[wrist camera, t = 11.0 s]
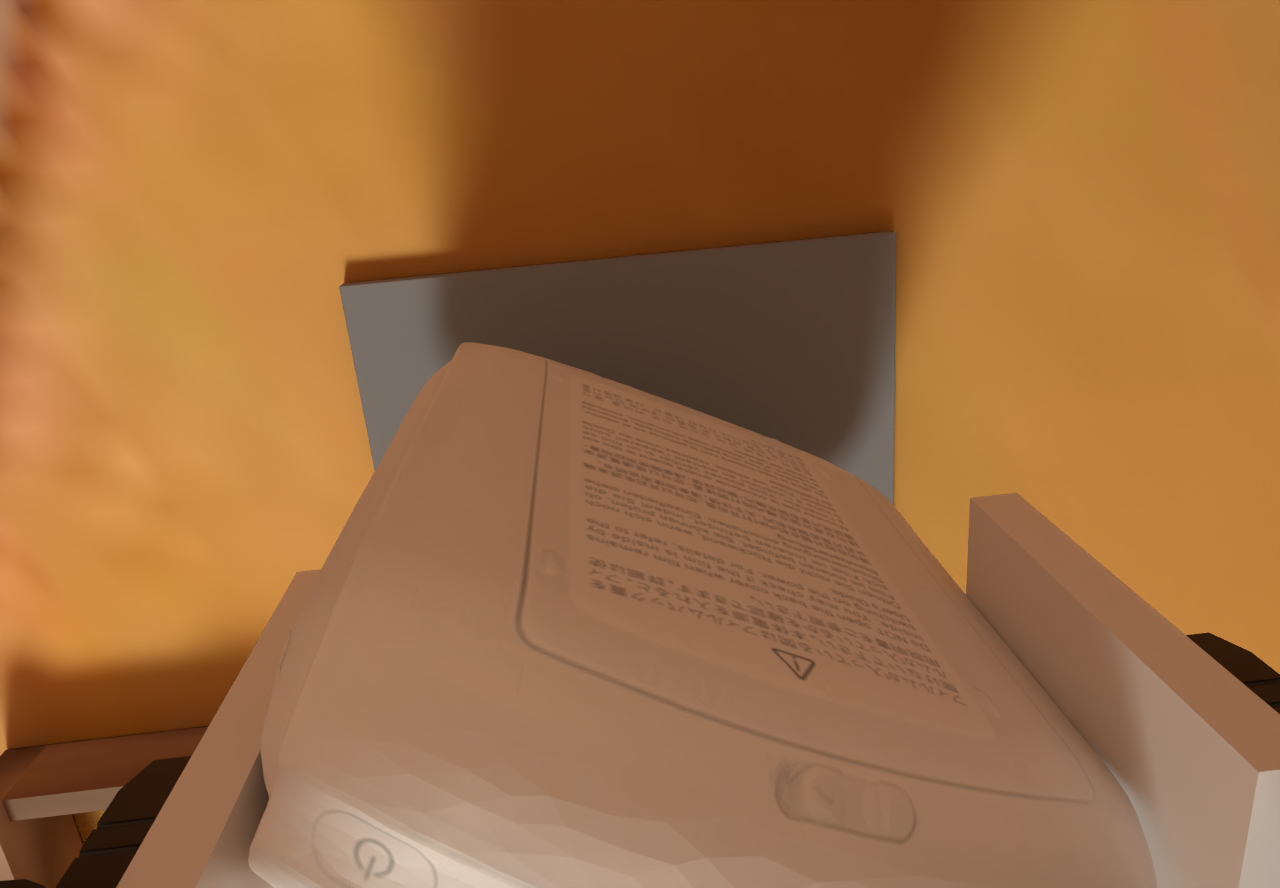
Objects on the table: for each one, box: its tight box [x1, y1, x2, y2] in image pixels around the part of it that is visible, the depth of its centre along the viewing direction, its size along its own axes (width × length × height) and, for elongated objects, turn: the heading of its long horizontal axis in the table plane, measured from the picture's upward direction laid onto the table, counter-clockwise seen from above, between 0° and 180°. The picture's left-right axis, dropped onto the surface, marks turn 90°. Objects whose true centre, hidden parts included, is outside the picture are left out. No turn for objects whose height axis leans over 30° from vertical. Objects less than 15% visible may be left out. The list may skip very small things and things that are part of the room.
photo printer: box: [248, 342, 1157, 888], centre depth 14 cm, size 10×4×12 cm, turn 68°
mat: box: [339, 231, 896, 505], centre depth 22 cm, size 9×12×1 cm
